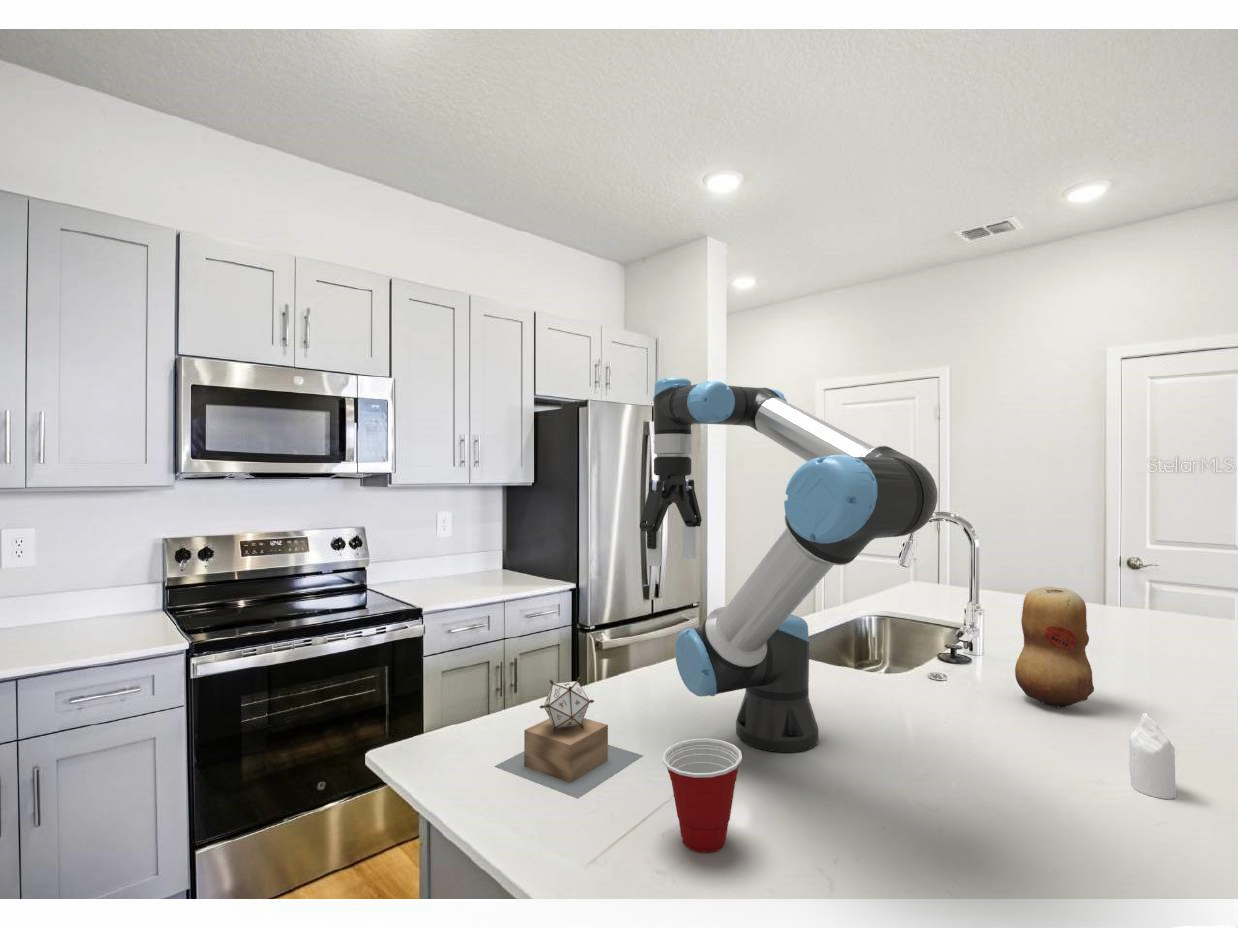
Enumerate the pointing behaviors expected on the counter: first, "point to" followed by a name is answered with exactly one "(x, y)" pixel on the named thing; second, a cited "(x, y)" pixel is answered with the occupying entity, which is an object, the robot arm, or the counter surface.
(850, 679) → the counter surface
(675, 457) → the robot arm
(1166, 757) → the white pouch
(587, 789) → the build mat
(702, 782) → the plastic cup
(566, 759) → the walnut block
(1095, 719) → the counter surface
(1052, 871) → the counter surface
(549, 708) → the game die
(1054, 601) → the butternut squash
